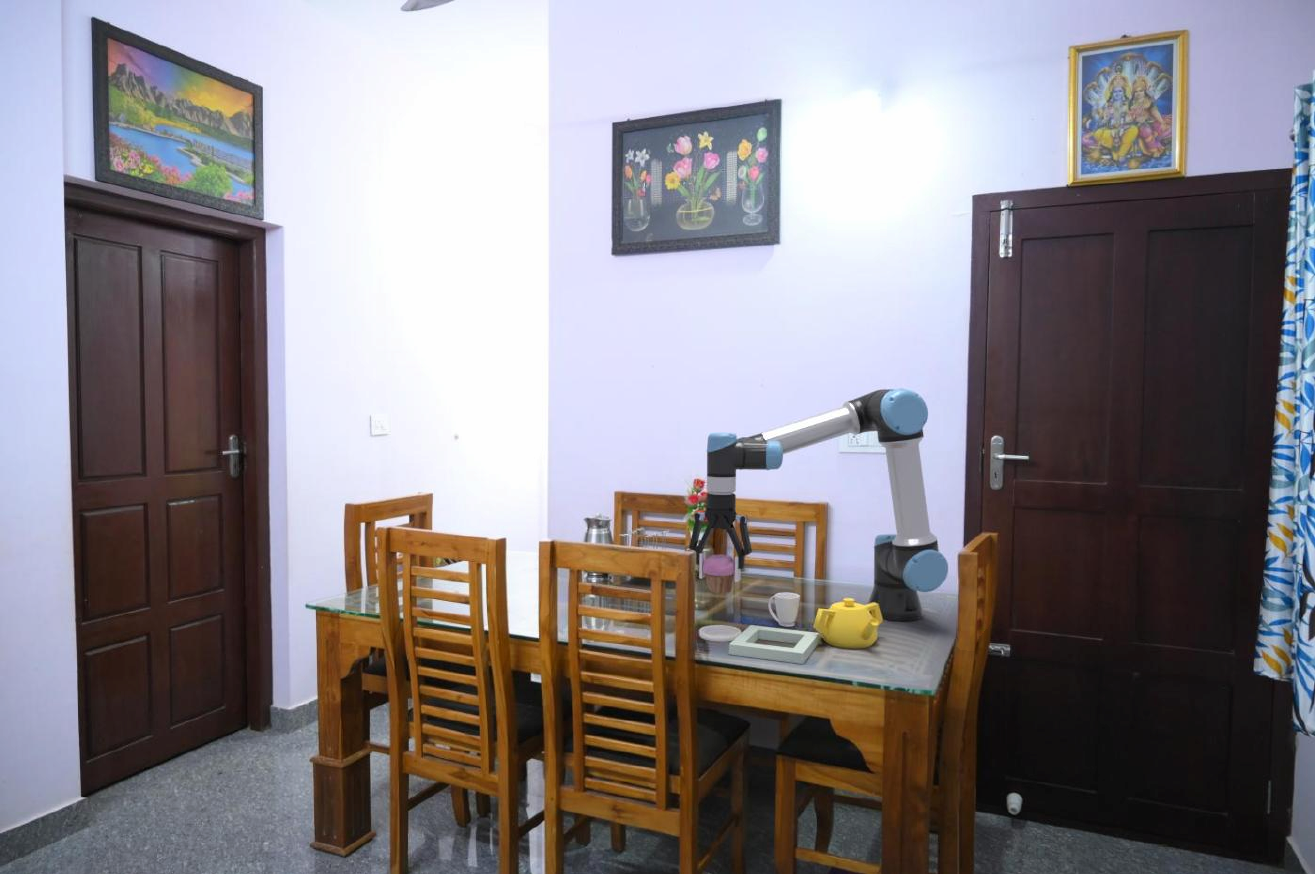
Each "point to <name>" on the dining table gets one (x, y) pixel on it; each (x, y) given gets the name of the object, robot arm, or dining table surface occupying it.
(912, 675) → the dining table surface
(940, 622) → the dining table surface
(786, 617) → the cup
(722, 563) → the cupcake
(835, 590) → the dining table surface
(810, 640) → the frame
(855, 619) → the teapot
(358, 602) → the dining table surface
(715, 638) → the plate
